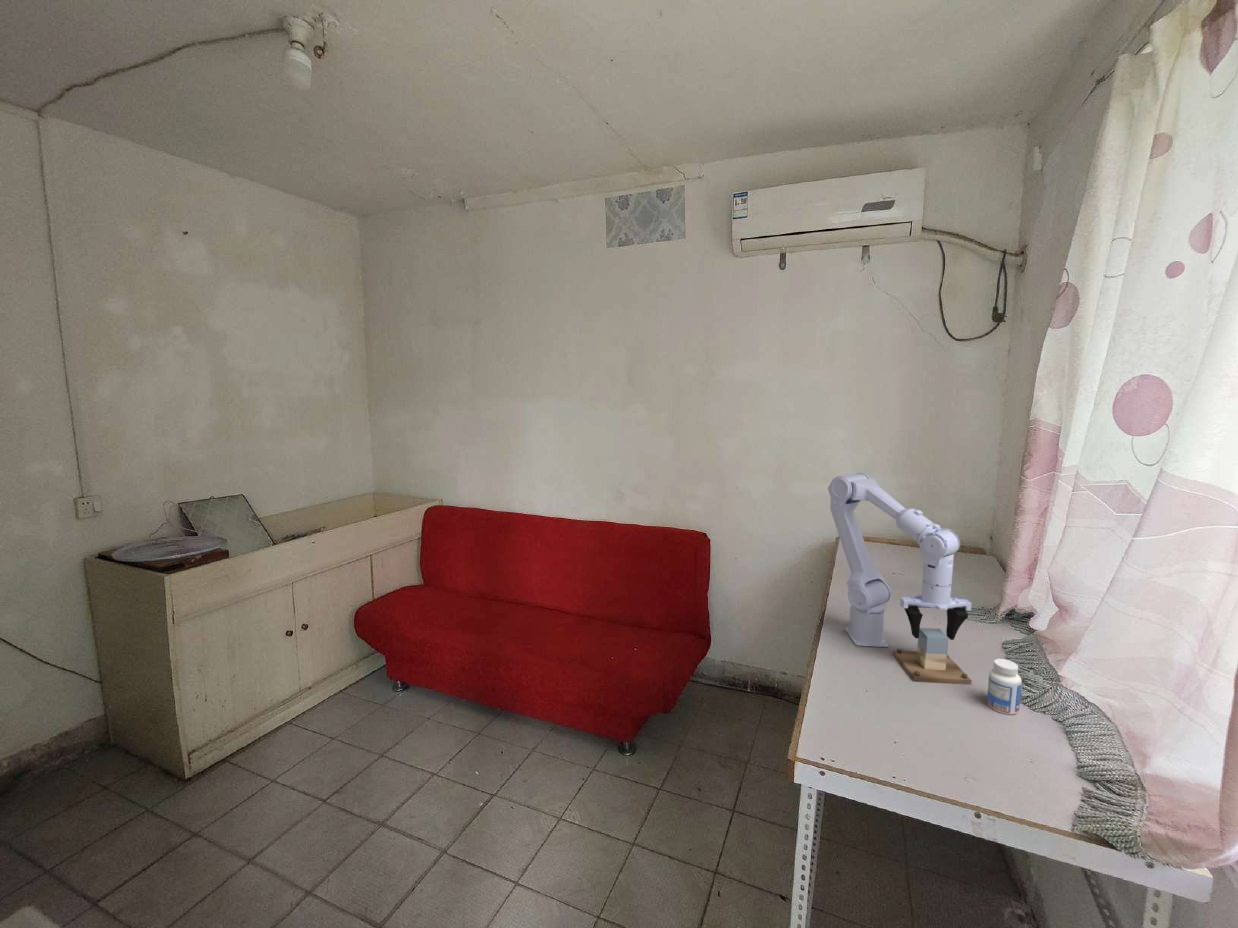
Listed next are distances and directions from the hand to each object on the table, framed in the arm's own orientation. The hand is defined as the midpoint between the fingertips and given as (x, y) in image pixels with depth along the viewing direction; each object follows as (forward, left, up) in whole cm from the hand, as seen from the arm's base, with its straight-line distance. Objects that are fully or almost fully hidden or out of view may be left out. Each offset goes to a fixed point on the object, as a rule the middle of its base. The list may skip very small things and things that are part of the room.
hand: (932, 637), depth 120 cm
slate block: (0, 0, -3) cm, 3 cm away
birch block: (0, 0, -7) cm, 7 cm away
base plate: (0, 0, -8) cm, 8 cm away
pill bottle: (+14, +8, -8) cm, 18 cm away
